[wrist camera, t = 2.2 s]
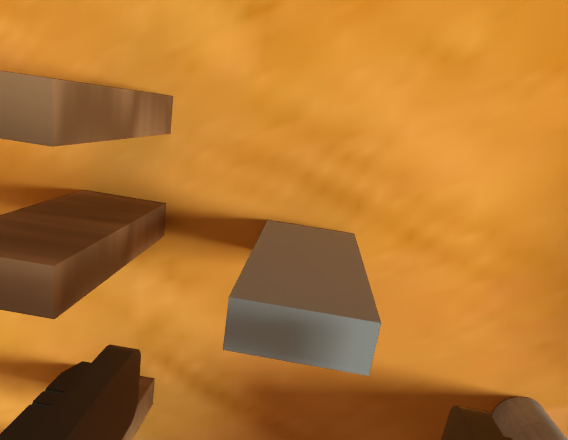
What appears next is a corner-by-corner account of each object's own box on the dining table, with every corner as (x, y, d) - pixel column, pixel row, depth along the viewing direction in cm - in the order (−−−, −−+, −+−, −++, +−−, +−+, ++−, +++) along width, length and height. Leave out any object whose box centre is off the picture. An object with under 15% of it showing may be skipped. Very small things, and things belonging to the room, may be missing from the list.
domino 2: (83, 189, 23) (-88, 242, 13) (165, 203, 23) (54, 266, 13) (82, 222, 24) (-82, 295, 14) (163, 235, 23) (54, 319, 14)
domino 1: (83, 82, 21) (-108, 54, 12) (172, 95, 21) (51, 78, 12) (83, 120, 22) (-101, 122, 12) (170, 133, 22) (52, 146, 12)
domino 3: (267, 219, 22) (228, 296, 13) (354, 233, 22) (381, 323, 13) (263, 252, 23) (222, 349, 13) (347, 266, 23) (368, 375, 13)
